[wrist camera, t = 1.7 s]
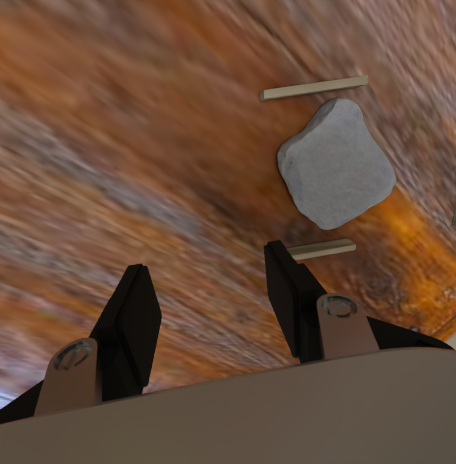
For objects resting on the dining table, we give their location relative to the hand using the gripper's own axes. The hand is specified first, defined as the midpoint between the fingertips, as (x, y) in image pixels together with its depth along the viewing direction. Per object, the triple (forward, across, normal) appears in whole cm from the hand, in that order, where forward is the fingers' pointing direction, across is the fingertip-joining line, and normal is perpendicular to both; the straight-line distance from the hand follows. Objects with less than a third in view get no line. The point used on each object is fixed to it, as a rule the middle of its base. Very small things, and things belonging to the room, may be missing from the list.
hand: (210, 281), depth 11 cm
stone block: (+18, -14, 0) cm, 23 cm away
